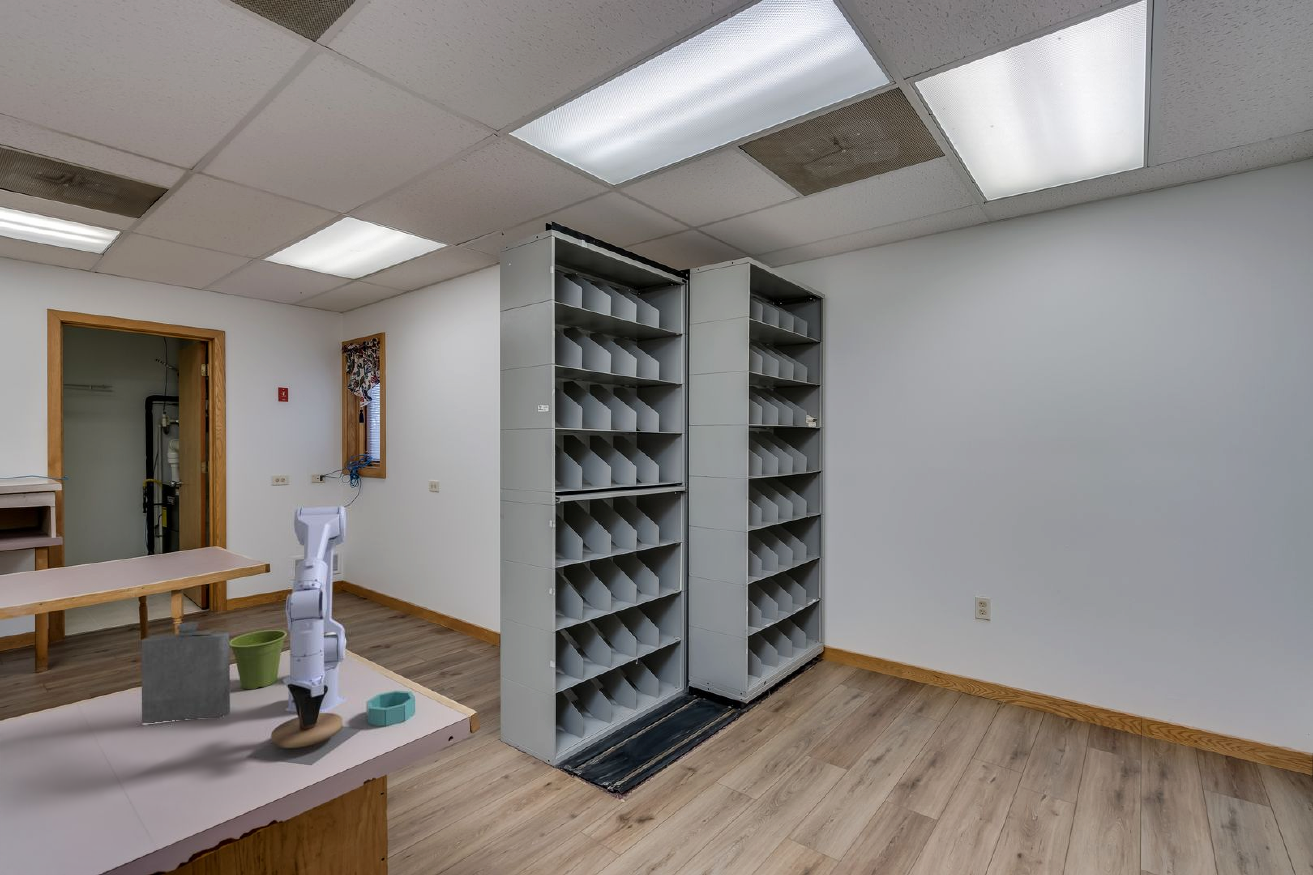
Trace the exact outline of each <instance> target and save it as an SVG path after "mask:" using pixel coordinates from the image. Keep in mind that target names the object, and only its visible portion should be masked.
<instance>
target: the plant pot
mask: <svg viewBox="0 0 1313 875" xmlns="http://www.w3.org/2000/svg"><path fill="white" fill-rule="evenodd" d="M287 634H288V633H287V631H284V630H280V629H267V630H258V631H254V632H248V633H245V634H242V635H239V636H236V637H234V638H232V639H231V640H229V641H230V648H231V650H232V654H233V655H234V658H235V662H236V663H235V664H236V668H237V672H238V676H239V682H240V686H241V688H243V689H245V690H255V689H257V688H259V687H263V688H265V687H268V686H271V685H272V684H274V683H275V682H276V681H277V679H278V675H279V667H280V662H281V655H282V649H283V646H284V642H285V641H284V640H285V638H286V637H287Z"/></svg>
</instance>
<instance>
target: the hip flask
mask: <svg viewBox="0 0 1313 875" xmlns="http://www.w3.org/2000/svg"><path fill="white" fill-rule="evenodd" d="M198 627H199V621H189V622H183V623H179V624H177V626H176V630H177V631H178V633H177V634H168V635H167V634H166V635H159V636H150V637H146V638H143V639H141V641H140V644H141V645H140V647H141V648H140V649H141V651H140V652H141V654H140V655H141V724H142V723H155V722H163V721H172V720H175V722H177V721H176V720H184V721H186V720H185V719H194V720H199V719H198V718H212V719H221V718H220V717H222V718H224V717H223V716H225V717H227V716H229V715H230V714H231V685H230V684H231V678H230V676H231V674H230V673H231V671H230V670H231V669H230V668H231V666H230V664H231V659H230V657H231V655H230V648H231V646H230V641H231V640H230V632H229V631H216V630H210V631H209V630H206V631H205V630H201V631H200V630H198ZM226 715H227V716H226Z"/></svg>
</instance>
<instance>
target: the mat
mask: <svg viewBox="0 0 1313 875" xmlns="http://www.w3.org/2000/svg"><path fill="white" fill-rule="evenodd" d="M362 730H364V727H356V726H345V725H342V728H341V730H340V731H339V732H338V733H337V734H335V735H334V736H332V737H330V738H328V739H326V740H324V741H321V742H318V743H315V744H312V745H308V746H302V747H295V748H283V747H278V746H275V745H274V744H273V743H272V742H268V743H267V744H266V745H264V746H262V747H260V748H259V749H257V750H256V751H254V752H252V753H251V754H249V755H247V756H246V758H250V759H257V760H267V761H275V762H283V763H291V764H301V765H308V766H309V765H310V766H313V765H314V764H315V763H317V762H318V761H320V760H321V759H323V758H324V757H325V756H327V755H328V754H330V753H331V752H332V751H334V750H335V749H337V748H339V747H340V746H341V745H342V744H344V743H345V742H347V741H348V740H349V739H351V738H353V737H354V736H355V735H357V734H358V733H360V732H361V731H362Z"/></svg>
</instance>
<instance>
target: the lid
mask: <svg viewBox="0 0 1313 875" xmlns="http://www.w3.org/2000/svg"><path fill="white" fill-rule="evenodd" d="M342 726H343V717H342V716H340V715H339V714H336V713H333V712H326V713H319V715H318V719H317V723H316V724H313V725H309V726H306V727H305V726H304V725H303V722H302V717H301V711H300V707H299V718H298V716H297V717H294V718H292V719H290V720H287V721H285V722H283V723H281V724H279V725H278V726H277V727H275V728H274V729H273V730H272V732H271V733H270V734H271V735H270V738H271V740H270V741H271V742H272V743H273V744H274V745H275V746H278V747H283V748H295V747H302V746H308V745H312V744H315V743H318V742H321V741H324V740H326V739H328V738H330V737H332V736H334V735H335V734H337V733H338V732H339V731H340V730H341V728H342Z"/></svg>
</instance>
